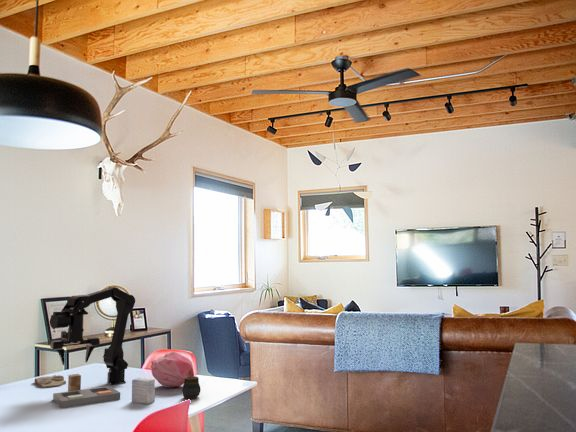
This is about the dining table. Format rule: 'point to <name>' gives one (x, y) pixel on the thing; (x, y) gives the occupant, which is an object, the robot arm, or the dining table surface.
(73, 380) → the plug
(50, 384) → the fossil
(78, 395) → the socket plate
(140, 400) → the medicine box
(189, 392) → the mate gourd
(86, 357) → the robot arm
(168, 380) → the decorative rock
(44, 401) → the dining table surface
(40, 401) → the dining table surface
